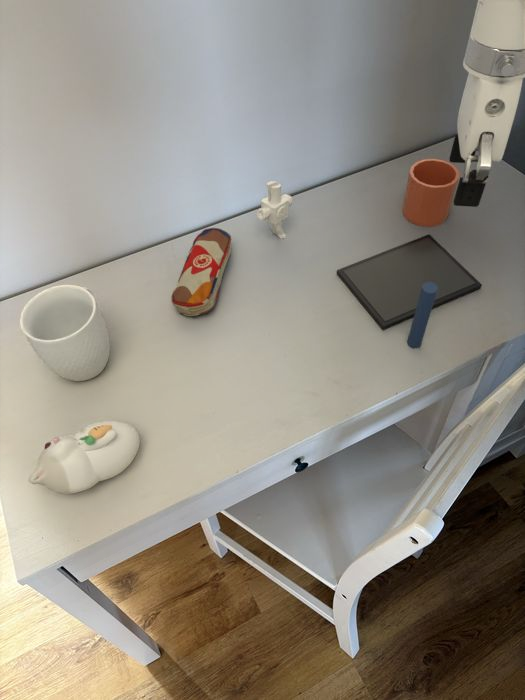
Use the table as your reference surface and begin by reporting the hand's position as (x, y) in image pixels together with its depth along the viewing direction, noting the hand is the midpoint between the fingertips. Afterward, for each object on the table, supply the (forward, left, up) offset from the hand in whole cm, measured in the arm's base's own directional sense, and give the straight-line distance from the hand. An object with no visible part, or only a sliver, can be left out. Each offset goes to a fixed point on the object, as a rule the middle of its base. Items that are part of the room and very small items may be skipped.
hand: (462, 182), depth 74 cm
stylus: (+8, +7, -23) cm, 26 cm away
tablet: (+1, -5, -23) cm, 24 cm away
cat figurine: (+61, +5, -24) cm, 65 cm away
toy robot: (+16, -27, -24) cm, 39 cm away
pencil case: (+33, -23, -24) cm, 46 cm away
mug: (+57, -15, -24) cm, 63 cm away
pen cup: (-13, -19, -23) cm, 33 cm away
